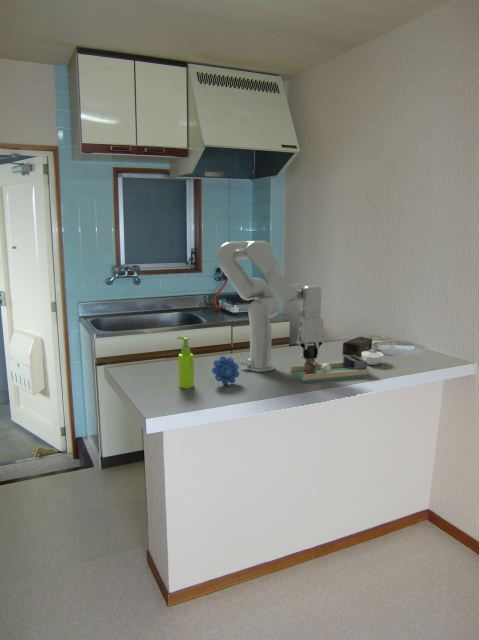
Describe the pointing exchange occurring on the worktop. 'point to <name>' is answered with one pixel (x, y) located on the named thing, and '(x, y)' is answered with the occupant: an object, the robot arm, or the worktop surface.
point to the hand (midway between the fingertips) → (310, 357)
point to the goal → (354, 362)
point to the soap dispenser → (186, 365)
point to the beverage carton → (357, 346)
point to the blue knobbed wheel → (225, 370)
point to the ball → (326, 368)
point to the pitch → (328, 373)
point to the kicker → (310, 361)
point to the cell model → (372, 356)
